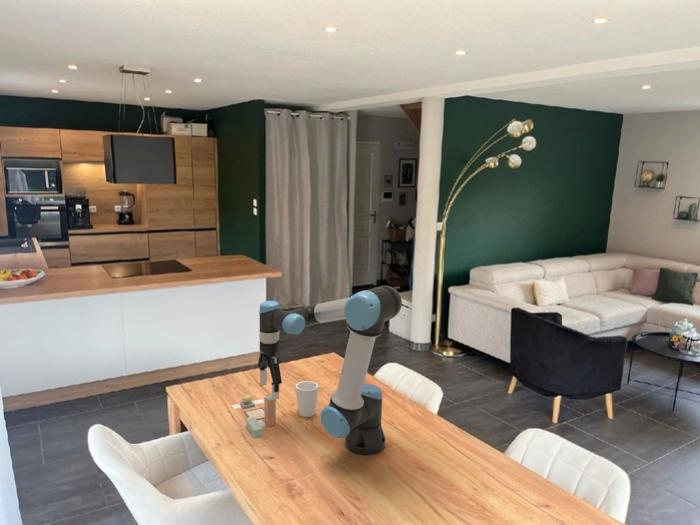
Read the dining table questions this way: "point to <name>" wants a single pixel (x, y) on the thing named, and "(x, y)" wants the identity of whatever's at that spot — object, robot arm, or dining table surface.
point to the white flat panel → (252, 413)
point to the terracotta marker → (269, 411)
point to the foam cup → (306, 398)
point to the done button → (247, 397)
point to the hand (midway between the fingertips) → (269, 392)
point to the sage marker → (254, 427)
